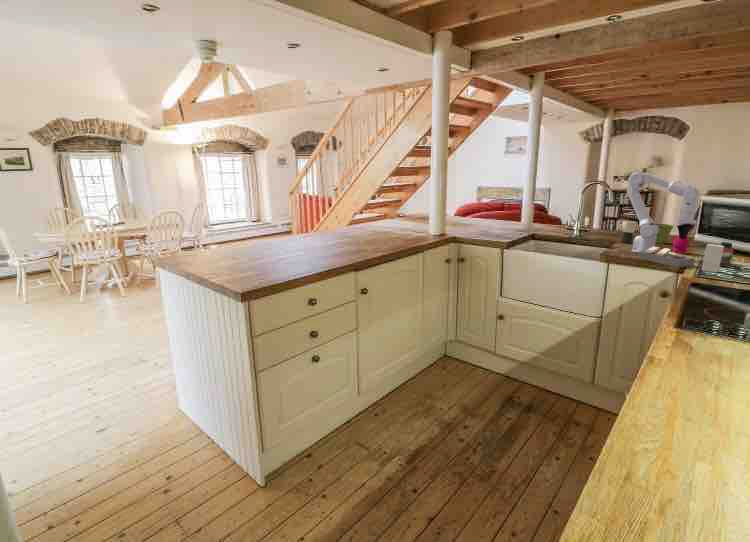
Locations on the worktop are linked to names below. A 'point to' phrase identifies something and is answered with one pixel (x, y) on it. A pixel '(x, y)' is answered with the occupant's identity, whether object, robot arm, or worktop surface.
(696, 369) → the worktop surface
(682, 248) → the pepper mill
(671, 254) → the right rocker
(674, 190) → the robot arm
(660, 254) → the middle rocker
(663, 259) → the power strip
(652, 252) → the left rocker
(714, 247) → the skincare box
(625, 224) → the character mug
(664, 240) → the plant pot
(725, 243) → the supplement bottle
